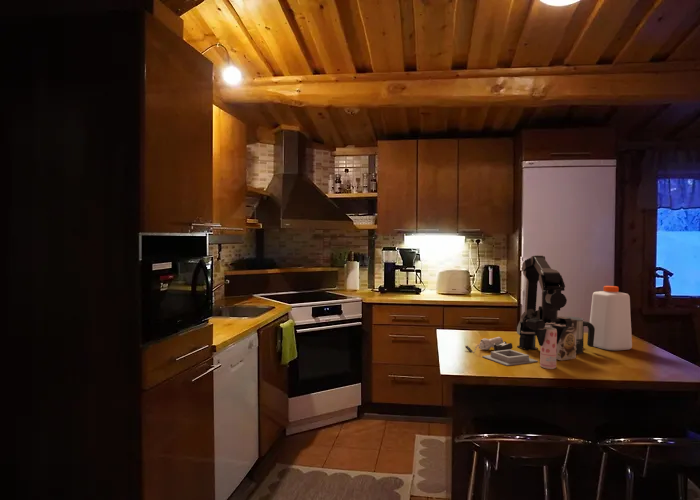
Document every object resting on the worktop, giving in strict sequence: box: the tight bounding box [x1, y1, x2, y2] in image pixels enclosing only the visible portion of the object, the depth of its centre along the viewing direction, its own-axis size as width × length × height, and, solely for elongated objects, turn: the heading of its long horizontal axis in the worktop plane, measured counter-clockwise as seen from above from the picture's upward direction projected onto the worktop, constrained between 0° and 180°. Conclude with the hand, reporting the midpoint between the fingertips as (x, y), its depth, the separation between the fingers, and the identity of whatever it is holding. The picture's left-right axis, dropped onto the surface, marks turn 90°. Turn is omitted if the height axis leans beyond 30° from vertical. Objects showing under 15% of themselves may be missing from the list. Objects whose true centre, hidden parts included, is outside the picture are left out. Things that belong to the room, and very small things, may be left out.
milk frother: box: [565, 316, 595, 355], centre depth 207 cm, size 14×16×15 cm
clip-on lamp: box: [464, 336, 514, 354], centre depth 201 cm, size 12×6×18 cm
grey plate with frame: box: [481, 349, 539, 367], centre depth 188 cm, size 16×14×2 cm
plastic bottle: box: [589, 285, 633, 352], centre depth 213 cm, size 15×15×28 cm
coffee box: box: [549, 319, 577, 361], centre depth 192 cm, size 9×6×16 cm
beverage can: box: [539, 326, 557, 370], centre depth 178 cm, size 6×6×15 cm
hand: (548, 344), depth 178 cm, fingers open, 8 cm apart
